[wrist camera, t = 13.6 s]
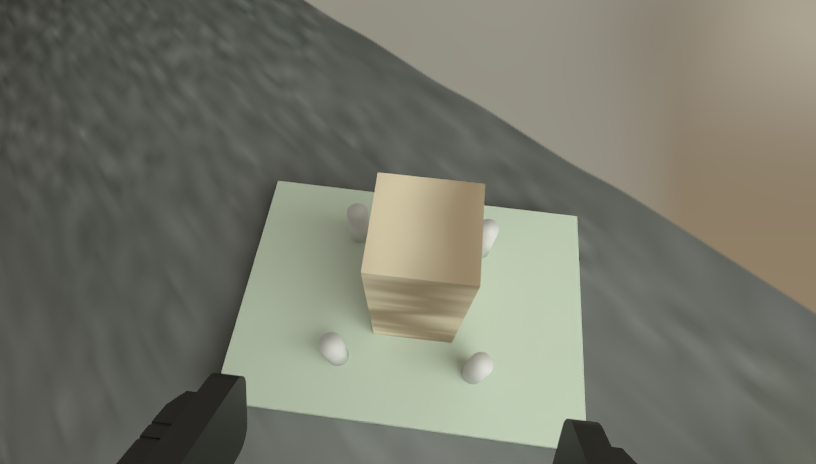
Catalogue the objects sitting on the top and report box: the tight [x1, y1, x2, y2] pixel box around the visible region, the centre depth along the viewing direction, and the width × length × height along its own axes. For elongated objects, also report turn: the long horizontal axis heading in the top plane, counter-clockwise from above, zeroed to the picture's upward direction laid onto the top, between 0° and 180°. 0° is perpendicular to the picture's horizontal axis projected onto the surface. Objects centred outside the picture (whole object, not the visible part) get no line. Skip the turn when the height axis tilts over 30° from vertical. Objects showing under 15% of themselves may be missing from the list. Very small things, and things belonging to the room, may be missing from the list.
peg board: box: [221, 181, 586, 449], centre depth 26 cm, size 20×14×4 cm
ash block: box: [361, 173, 485, 343], centre depth 22 cm, size 4×4×10 cm
